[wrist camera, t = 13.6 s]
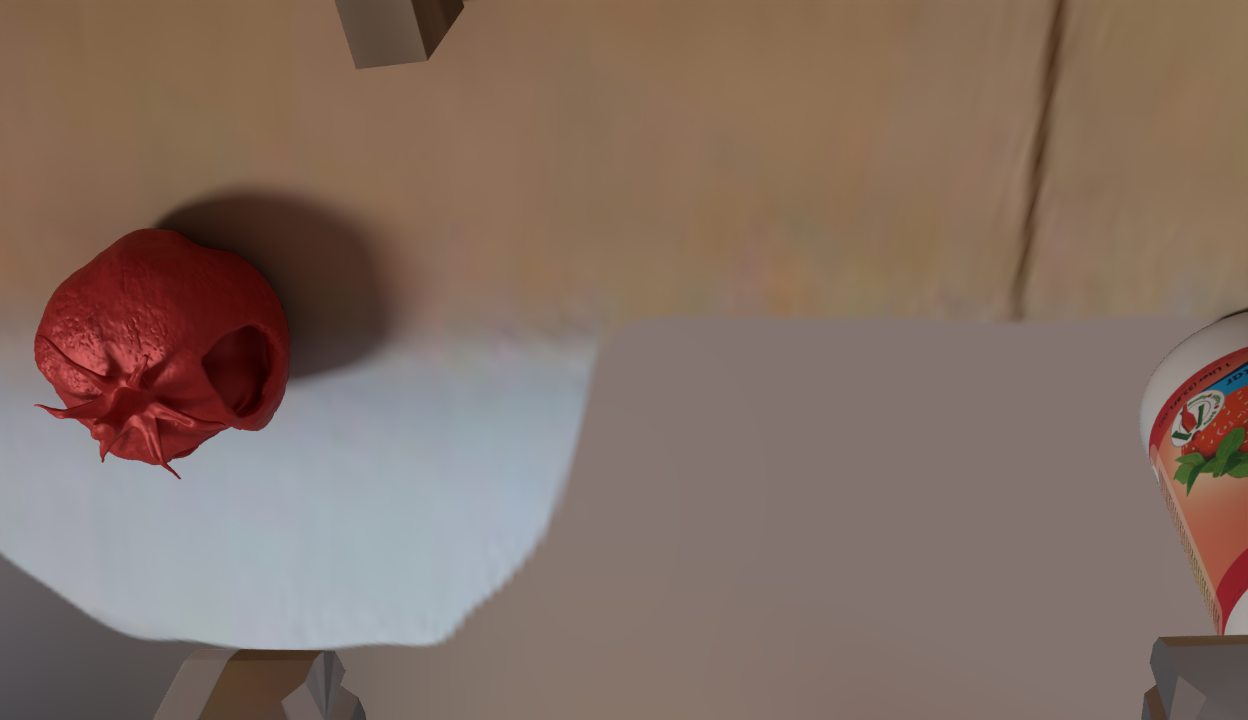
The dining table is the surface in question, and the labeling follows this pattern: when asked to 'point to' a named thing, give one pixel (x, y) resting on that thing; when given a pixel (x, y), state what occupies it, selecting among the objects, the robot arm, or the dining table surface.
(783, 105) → the dining table surface
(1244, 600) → the fruit juice
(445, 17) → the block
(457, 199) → the dining table surface
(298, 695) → the robot arm
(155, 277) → the pomegranate
